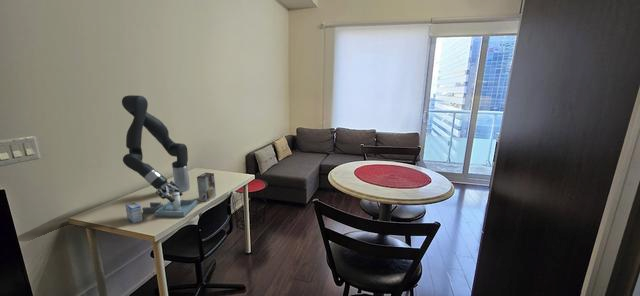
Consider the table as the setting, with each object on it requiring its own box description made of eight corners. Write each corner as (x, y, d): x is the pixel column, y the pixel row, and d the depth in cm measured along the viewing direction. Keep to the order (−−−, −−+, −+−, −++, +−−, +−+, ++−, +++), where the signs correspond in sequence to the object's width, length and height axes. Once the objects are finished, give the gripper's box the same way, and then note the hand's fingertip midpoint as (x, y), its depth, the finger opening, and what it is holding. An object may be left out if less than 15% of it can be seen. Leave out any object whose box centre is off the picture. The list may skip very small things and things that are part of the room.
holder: (151, 206, 162) (151, 202, 161) (163, 207, 162) (162, 202, 161) (143, 212, 154) (142, 208, 154) (155, 213, 154) (154, 208, 154)
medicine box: (127, 219, 147) (124, 204, 145) (136, 216, 150) (134, 201, 148) (133, 223, 143) (131, 208, 141) (143, 220, 146) (140, 205, 144)
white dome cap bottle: (175, 207, 160) (174, 191, 157) (182, 207, 160) (180, 192, 157) (171, 210, 156) (170, 194, 153) (178, 210, 156) (177, 194, 153)
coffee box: (207, 195, 180) (205, 172, 177) (216, 196, 179) (214, 173, 175) (198, 200, 172) (196, 176, 168) (207, 201, 170) (205, 177, 166)
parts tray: (171, 204, 166) (171, 199, 165) (197, 204, 166) (197, 200, 165) (155, 216, 150) (155, 211, 150) (184, 217, 150) (183, 212, 149)
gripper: (151, 179, 146) (175, 199, 149) (167, 171, 160) (187, 189, 162) (143, 188, 147) (166, 207, 150) (159, 179, 161) (180, 197, 164)
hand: (177, 198), depth 156 cm, fingers open, 8 cm apart
